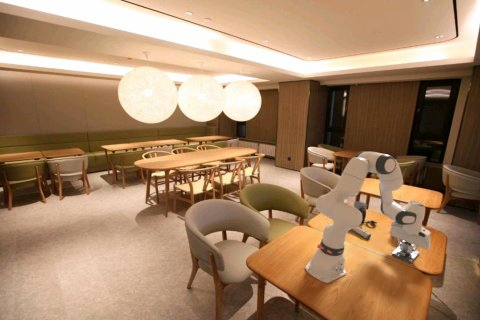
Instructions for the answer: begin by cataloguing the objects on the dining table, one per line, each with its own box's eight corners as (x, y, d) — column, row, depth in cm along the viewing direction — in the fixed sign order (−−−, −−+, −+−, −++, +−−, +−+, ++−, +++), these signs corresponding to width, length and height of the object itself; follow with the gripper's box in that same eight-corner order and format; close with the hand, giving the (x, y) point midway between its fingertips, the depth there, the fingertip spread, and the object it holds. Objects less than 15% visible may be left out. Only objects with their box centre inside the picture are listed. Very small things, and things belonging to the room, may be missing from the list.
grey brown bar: (367, 235, 155) (336, 215, 175) (365, 243, 158) (334, 222, 177) (372, 233, 158) (340, 213, 177) (369, 241, 160) (338, 221, 180)
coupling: (410, 254, 138) (412, 247, 137) (399, 249, 142) (400, 242, 141) (413, 251, 141) (415, 243, 140) (402, 246, 146) (403, 239, 144)
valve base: (410, 264, 134) (412, 256, 133) (391, 255, 142) (393, 247, 140) (418, 254, 143) (420, 247, 142) (400, 246, 151) (401, 239, 149)
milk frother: (348, 218, 185) (351, 201, 182) (366, 217, 188) (369, 200, 184) (360, 228, 172) (363, 209, 168) (379, 226, 174) (382, 208, 171)
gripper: (390, 222, 144) (385, 241, 147) (431, 237, 128) (425, 258, 132) (393, 219, 148) (389, 238, 151) (434, 233, 132) (428, 254, 136)
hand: (406, 248), depth 141 cm, fingers closed on coupling, 6 cm apart
